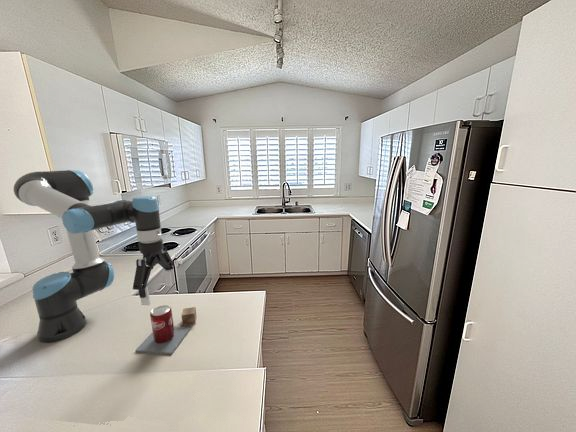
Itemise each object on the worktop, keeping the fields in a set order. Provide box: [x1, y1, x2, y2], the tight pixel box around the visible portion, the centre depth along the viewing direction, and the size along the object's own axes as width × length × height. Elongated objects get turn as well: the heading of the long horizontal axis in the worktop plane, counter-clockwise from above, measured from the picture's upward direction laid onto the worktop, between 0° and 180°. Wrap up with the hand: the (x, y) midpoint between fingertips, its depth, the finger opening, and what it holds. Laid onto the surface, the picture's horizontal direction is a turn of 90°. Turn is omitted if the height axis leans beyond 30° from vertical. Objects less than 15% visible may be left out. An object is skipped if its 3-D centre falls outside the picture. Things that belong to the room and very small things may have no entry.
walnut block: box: [181, 306, 197, 327], centre depth 108 cm, size 5×5×5 cm
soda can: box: [149, 304, 175, 344], centre depth 96 cm, size 7×7×12 cm
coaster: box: [134, 326, 192, 356], centre depth 97 cm, size 14×14×1 cm
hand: (158, 294), depth 94 cm, fingers open, 13 cm apart
